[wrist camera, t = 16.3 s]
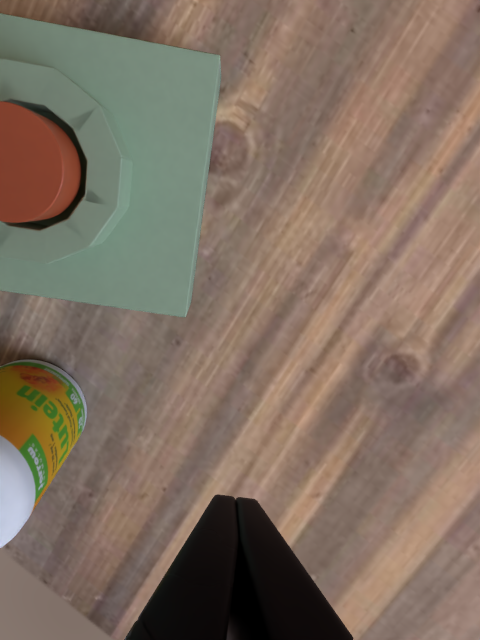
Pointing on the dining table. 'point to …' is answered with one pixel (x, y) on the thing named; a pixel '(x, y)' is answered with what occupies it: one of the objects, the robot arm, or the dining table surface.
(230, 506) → the robot arm
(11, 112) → the button
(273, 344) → the dining table surface
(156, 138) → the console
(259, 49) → the dining table surface
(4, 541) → the supplement bottle
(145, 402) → the dining table surface
